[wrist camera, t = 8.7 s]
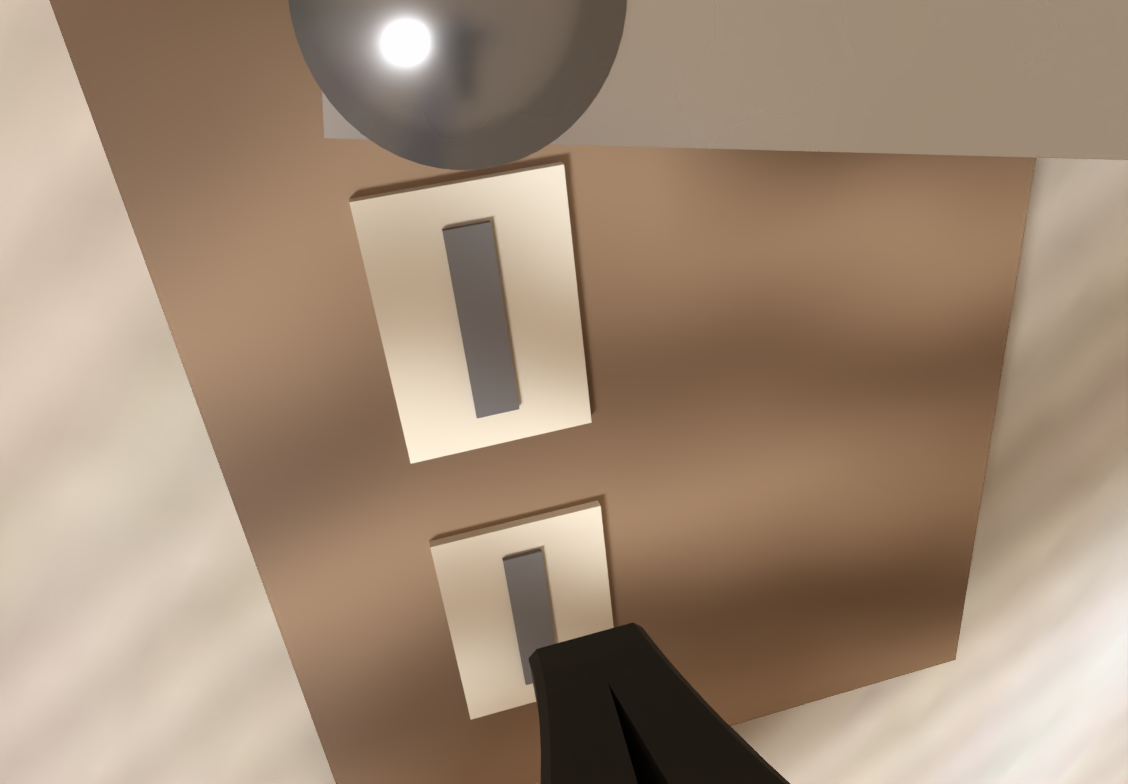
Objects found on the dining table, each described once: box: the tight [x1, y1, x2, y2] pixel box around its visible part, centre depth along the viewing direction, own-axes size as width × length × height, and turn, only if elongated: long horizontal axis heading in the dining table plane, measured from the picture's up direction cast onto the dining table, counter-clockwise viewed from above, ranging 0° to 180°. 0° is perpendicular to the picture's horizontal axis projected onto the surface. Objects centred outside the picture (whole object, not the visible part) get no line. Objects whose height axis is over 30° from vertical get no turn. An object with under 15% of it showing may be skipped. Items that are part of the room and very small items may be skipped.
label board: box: [50, 0, 1036, 784], centre depth 18 cm, size 20×16×2 cm
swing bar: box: [288, 0, 1128, 170], centre depth 12 cm, size 18×4×3 cm, turn 85°
